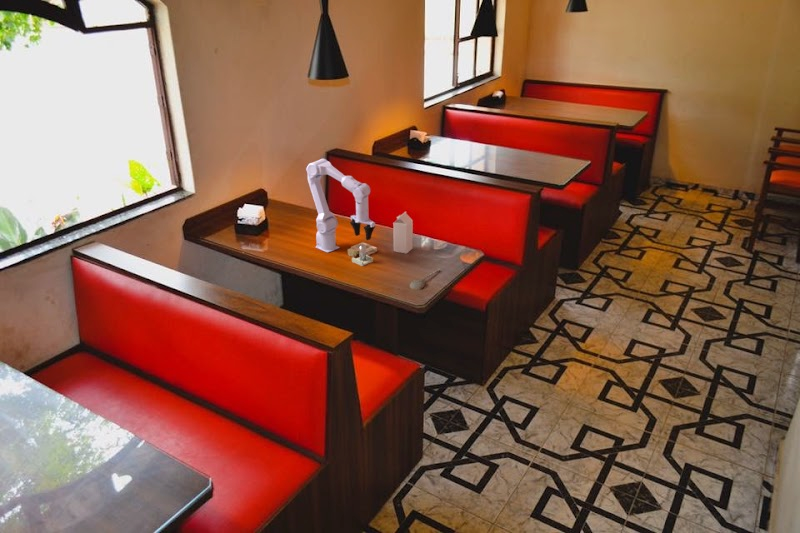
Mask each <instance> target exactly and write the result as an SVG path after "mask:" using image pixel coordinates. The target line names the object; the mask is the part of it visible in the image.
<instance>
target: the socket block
mask: <svg viewBox="0 0 800 533" xmlns="http://www.w3.org/2000/svg"><path fill="white" fill-rule="evenodd" d="M360 245H366V255H368V256H370V255H371V254H375V253H376V252H378V247H376V246H374V245H371V244H369V243H366V242H364V241H362V242H360V243H358V244H357V243H356V244H355V245H352V246H350V248H352V249H354V250H355V249H357V248H359V246H360Z"/></svg>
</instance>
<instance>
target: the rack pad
mask: <svg viewBox="0 0 800 533" xmlns="http://www.w3.org/2000/svg"><path fill="white" fill-rule="evenodd" d="M351 262H352V263H353V264H357V265H359V266H361V267H363V266H365V265H369V264H371V263H372V262H374V258H373V257H372V256H370V255H366V261H360V257H357V258H355V257H351Z"/></svg>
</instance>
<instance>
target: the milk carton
mask: <svg viewBox="0 0 800 533" xmlns="http://www.w3.org/2000/svg"><path fill="white" fill-rule="evenodd" d="M413 221H414V220H413V219H412V218H411V217H410V215H408V213H407V211H404V212H403V213H402V214H399V215H398V216H396V220H395V221H394V222H392V224H393V225H392V226H393V233H392V234H393V236H392V237H393V243H392V244H393V252H395V253H396V252H397V253H400V254H401V253H402V254H408V253H409V252H410V251H412V249H413V247H414V246H413V239H414V238H413V231H414V230H413V229H414V227H413V225H414V223H413Z"/></svg>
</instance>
